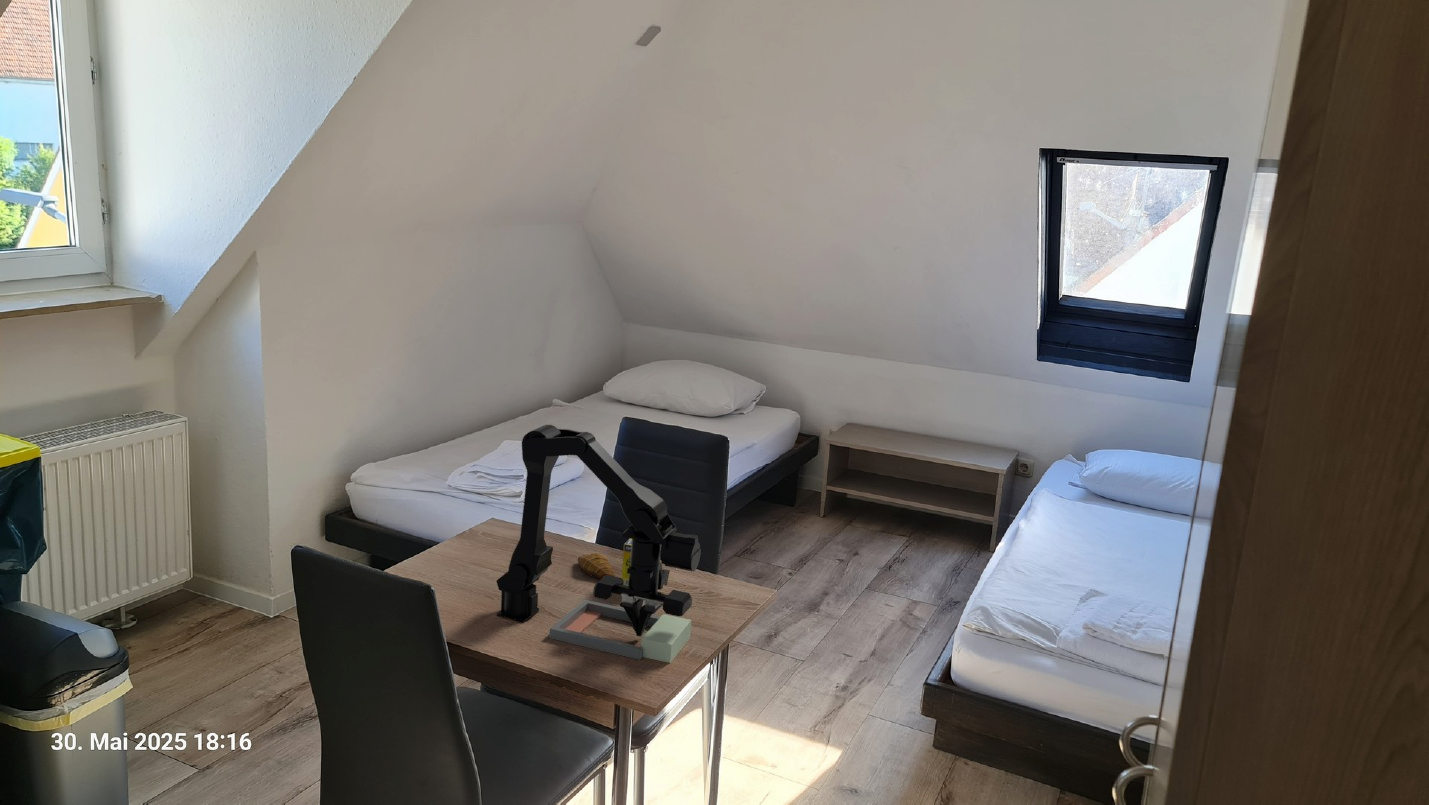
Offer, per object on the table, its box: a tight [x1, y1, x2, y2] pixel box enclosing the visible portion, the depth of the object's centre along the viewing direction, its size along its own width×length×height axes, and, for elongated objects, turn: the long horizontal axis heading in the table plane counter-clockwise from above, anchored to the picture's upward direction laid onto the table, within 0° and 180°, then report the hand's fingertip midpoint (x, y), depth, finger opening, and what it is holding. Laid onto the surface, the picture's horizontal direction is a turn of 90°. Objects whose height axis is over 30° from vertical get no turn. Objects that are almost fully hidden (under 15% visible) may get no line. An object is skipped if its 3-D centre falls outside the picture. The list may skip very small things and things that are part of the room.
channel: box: [548, 599, 661, 661], centre depth 196 cm, size 19×15×2 cm
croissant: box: [577, 552, 616, 581], centre depth 225 cm, size 14×7×5 cm, turn 40°
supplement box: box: [621, 538, 632, 586], centre depth 218 cm, size 6×6×11 cm
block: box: [640, 613, 692, 664], centre depth 192 cm, size 6×12×4 cm, turn 163°
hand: (639, 635), depth 194 cm, fingers closed
